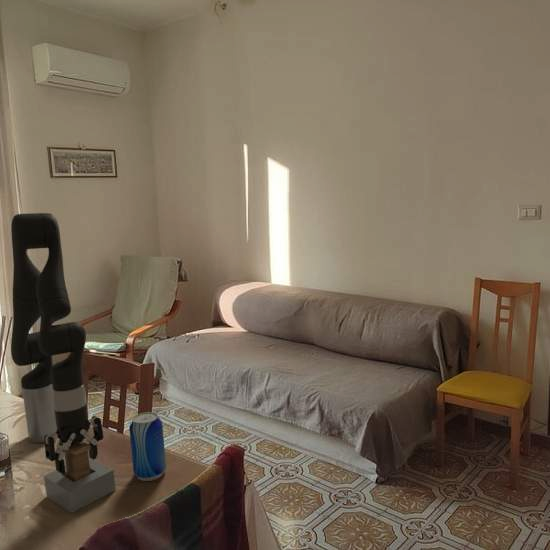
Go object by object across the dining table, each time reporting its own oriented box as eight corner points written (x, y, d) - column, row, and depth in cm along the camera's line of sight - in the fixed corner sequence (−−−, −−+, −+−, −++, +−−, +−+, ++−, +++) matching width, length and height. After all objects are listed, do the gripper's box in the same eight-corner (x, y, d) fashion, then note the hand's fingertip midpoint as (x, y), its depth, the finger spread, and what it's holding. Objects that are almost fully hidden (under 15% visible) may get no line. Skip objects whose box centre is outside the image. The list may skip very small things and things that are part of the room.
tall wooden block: (66, 488, 135) (60, 444, 133) (80, 481, 138) (75, 437, 136) (80, 497, 130) (75, 451, 128) (95, 490, 133) (90, 445, 131)
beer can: (158, 483, 137) (153, 425, 134) (128, 481, 138) (122, 423, 136) (171, 466, 145) (166, 411, 142) (142, 464, 146) (137, 409, 144)
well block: (46, 496, 134) (43, 475, 133) (90, 475, 143) (87, 456, 142) (71, 513, 126) (68, 492, 125) (115, 490, 135) (113, 469, 134)
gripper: (88, 391, 138) (95, 449, 141) (34, 410, 127) (42, 473, 130) (104, 397, 133) (111, 457, 136) (49, 418, 122) (58, 483, 125)
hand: (77, 465), depth 133 cm, fingers open, 8 cm apart
